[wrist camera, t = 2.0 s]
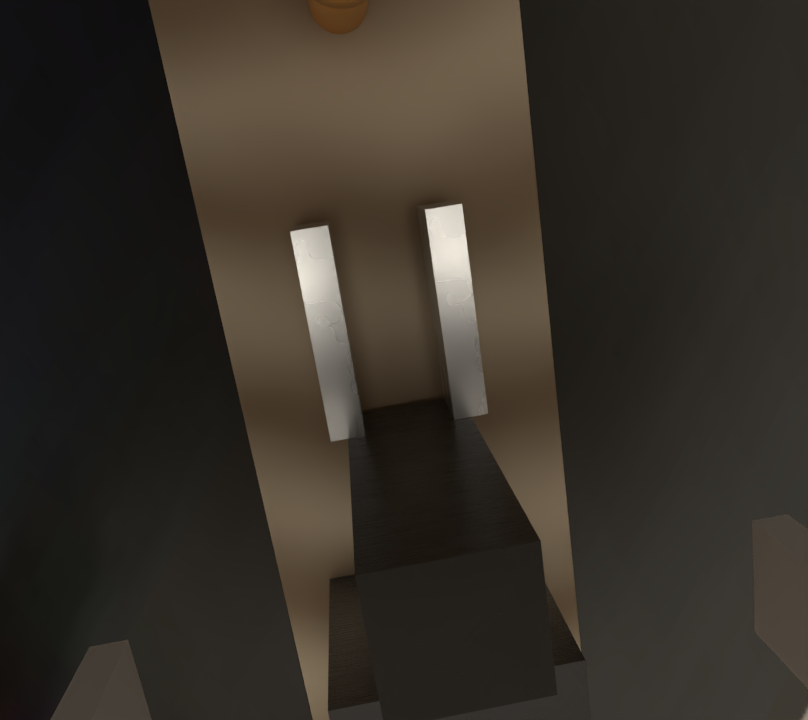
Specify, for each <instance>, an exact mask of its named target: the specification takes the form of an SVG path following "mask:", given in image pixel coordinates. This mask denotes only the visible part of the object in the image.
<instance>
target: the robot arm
mask: <svg viewBox="0 0 808 720" xmlns="http://www.w3.org/2000/svg"><path fill="white" fill-rule="evenodd" d="M752 532H753V573H754V613H755V633H756V634H757V635H758V636H759V637H760V638H761V639H762V640H763V641H764V642H765V643H766V644H767V645H768V647H769V648H770V649H771V650H772V651H773V652H774V653H775V654H776V655H777V656H778V657H779V658H780V659H781V660H782V661H783V663H784V664H785V665H786V666H787V667H788V668H789V669H790V670H791V671H792V672H793V673H794V674H795V675H796V676H797V677H798V679H799V680H800V681H801V682H802V683H803V684H804V685H805V686H806V687H807V688H808V529H807V528H805V527H804V526H802V525H801V524H800V523H798V522H797V521H796V520H794V519H793V518H791V517H790V516H789V515H787V514H785V515H779V516H774V517H769V518H764V519H758V520H753V521H752ZM51 720H152V719H151V716H150V712H149V709H148V706H147V702H146V699H145V696H144V692H143V689H142V686H141V682H140V679H139V675H138V672H137V669H136V665H135V662H134V659H133V655H132V652H131V649H130V645H129V642H128V640H124V641H119V642H113V643H108V644H103V645H98V646H92V647H89V649H88V651H87V653H86V654H85V656H84V658H83V660H82V662H81V664H80V666H79V668H78V669H77V671H76V673H75V675H74V677H73V679H72V681H71V683H70V684H69V686H68V688H67V690H66V692H65V694H64V696H63V697H62V699H61V701H60V703H59V705H58V707H57V709H56V711H55V712H54V714H53V716H52V718H51Z"/></svg>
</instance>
